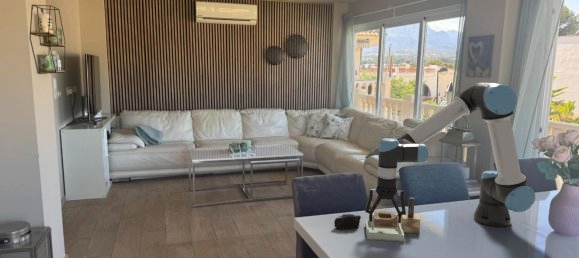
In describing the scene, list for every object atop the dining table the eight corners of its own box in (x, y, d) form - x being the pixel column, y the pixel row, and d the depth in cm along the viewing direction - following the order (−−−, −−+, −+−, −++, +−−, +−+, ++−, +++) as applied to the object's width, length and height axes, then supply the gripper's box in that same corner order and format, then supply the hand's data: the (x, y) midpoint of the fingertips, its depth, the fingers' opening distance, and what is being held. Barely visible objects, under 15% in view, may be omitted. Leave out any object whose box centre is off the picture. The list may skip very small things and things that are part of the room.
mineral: (352, 233, 173) (353, 220, 172) (332, 229, 177) (333, 216, 176) (361, 226, 181) (361, 213, 181) (341, 222, 186) (342, 209, 185)
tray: (399, 228, 179) (399, 221, 179) (404, 242, 165) (404, 235, 165) (365, 226, 181) (365, 219, 181) (367, 239, 167) (367, 233, 166)
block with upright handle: (417, 227, 180) (419, 196, 178) (419, 233, 174) (421, 201, 172) (400, 226, 181) (402, 195, 179) (402, 232, 175) (404, 200, 173)
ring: (397, 227, 166) (397, 220, 166) (374, 226, 167) (374, 219, 167) (393, 217, 177) (394, 210, 177) (372, 216, 178) (372, 209, 178)
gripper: (413, 175, 171) (409, 227, 174) (359, 173, 173) (357, 224, 177) (416, 180, 163) (412, 234, 167) (360, 177, 166) (358, 231, 169)
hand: (384, 229), depth 172 cm, fingers closed on ring, 9 cm apart
